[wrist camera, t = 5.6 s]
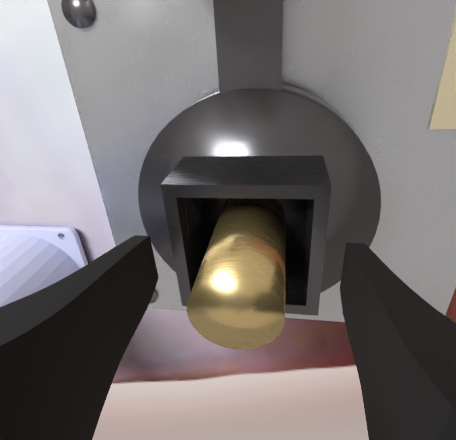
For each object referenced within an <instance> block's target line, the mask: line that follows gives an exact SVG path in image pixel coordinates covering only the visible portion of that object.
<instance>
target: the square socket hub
mask: <svg viewBox="0 0 456 440" xmlns="http://www.w3.org/2000/svg"><path fill="white" fill-rule="evenodd" d="M213 8H214V22H215V36H216V50H217V65H218V79H219V89H218V90H216V91H214V92H211V93H209V94H207V95H205V96H204V97H202V98H200V99H199V100H197V101H195V102H194V103H193V104H191V105H190V106H189V107H187V108H186V109H185V110H183V111H182V112H181V113H179V114H178V115H177V116H176V117H175V118H173V119H172V120H171V121H170V122H169V123H168V124H167V125H166V126H165V127H164V128H163V129H162V130H161V132H160V133H159V134H158V135H157V137H156V138H155V140H154V141H153V143H152V144H151V146H150V148H149V150H148V152H147V154H146V156H145V159H144V161H143V165H142V168H141V172H140V177H139V184H138V203H139V209H140V215H141V219H142V222H143V225H144V228H145V230H146V233H147V235H148V236H150V239H151V243H152V245H153V246H154V248H155V250H156V251H157V252H158V254H159V255H160V256H161V258H162V259H163V260H164V261H165V262H166V263H167V264H168V266H169V267H170V268H171V269H172V270H173V271H175V272H176V275H177V280H178V286H179V291H180V297H181V303H182V306H187V302H188V299H189V296H190V294H191V291H192V288H193V285H194V283H195V280H196V277H197V275H198V272H199V269H200V267H201V264H202V261H203V259H204V256H205V253H206V250H207V248H208V245H209V242H210V240H211V237H212V234H213V232H214V229H215V226H216V224H217V221H218V218H219V215H220V213H221V210H222V207H223V205H224V203H225V202H226V200H227V199H228V198H253V199H277V200H278V201H279V202H280V203H281V205H282V206H283V208H284V211H285V215H286V257H285V313H287V314H301V315H315V316H318V311H319V302H320V293H321V292H323V291H325V290H327V289H329V288H330V287H332V286H334V285H335V284H336V283H338V282H339V281H341V276H342V269H343V261H344V254H345V247H346V243H365V244H366V245H367V246H368V247H370V245H371V243H372V241H373V239H374V236H375V234H376V231H377V227H378V224H379V220H380V211H381V189H380V185H379V180H378V175H377V172H376V169H375V167H374V164H373V161H372V159H371V157H370V155H369V154H368V152H367V150H366V148H365V147H364V145H363V143H362V142H361V140H360V139H359V137H358V136H357V134H356V133H355V132H354V130H353V129H352V127H351V126H350V125H349V124H348V122H347V121H346V120H345V119H344V117H342V116H341V115H340V114H339V113H338V112H337V111H336V110H335V109H334V108H333V107H332V106H330V105H329V104H327V103H326V102H324V101H323V100H321V99H320V98H318V97H316V96H314V95H312V94H310V93H308V92H306V91H304V90H301V89H298V88H295V87H292V86H289V85H284V84H282V59H283V8H284V0H213Z"/></svg>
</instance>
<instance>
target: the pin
mask: <svg viewBox="0 0 456 440" xmlns="http://www.w3.org/2000/svg"><path fill="white" fill-rule="evenodd" d="M285 257H286V215H285V211H284V208H283V206H282V205H281V203H280V202H279V201H278V200H277V199H253V198H228V199H227V200H226V202H225V203H224V205H223V207H222V210H221V213H220V215H219V218H218V221H217V224H216V226H215V229H214V232H213V234H212V237H211V240H210V242H209V245H208V248H207V250H206V253H205V256H204V259H203V261H202V264H201V267H200V269H199V272H198V275H197V277H196V280H195V283H194V285H193V288H192V291H191V294H190V296H189V299H188V302H187V314H188V317H189V320H190V322H191V324H192V325H193V327H194V328H195V329H196V330H197V331H198V332H199V333H200V334H201V335H202V336H203V337H205V338H206V339H208V340H209V341H211V342H213V343H215V344H218V345H220V346H223V347H227V348H232V349H242V350H244V349H255V348H259V347H262V346H265V345H267V344H269V343H271V342H272V341H274V340H275V339H276V338H277V337H278V336H279V335H280V333H281V332H282V330H283V327H284V324H285Z"/></svg>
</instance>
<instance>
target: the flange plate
mask: <svg viewBox="0 0 456 440" xmlns="http://www.w3.org/2000/svg"><path fill="white" fill-rule="evenodd" d="M47 1H48V5H49V8H50V12H51V15H52V19H53V23H54V26H55V30H56V33H57V37H58V40H59V44H60V48H61V51H62V55H63V58H64V62H65V66H66V69H67V73H68V76H69V80H70V83H71V87H72V91H73V94H74V98H75V101H76V105H77V108H78V112H79V116H80V119H81V123H82V126H83V130H84V133H85V137H86V141H87V144H88V148H89V151H90V155H91V159H92V162H93V166H94V169H95V173H96V176H97V180H98V184H99V187H100V191H101V194H102V198H103V201H104V205H105V209H106V212H107V216H108V219H109V223H110V227H111V230H112V234H113V237H114V241H115V244H116V246H117V245H119V244H121V243H122V242H124V241H126V240H127V239H129V238H131V237H133V236H135V235H140V236H148V235H147V233H146V230H145V228H144V225H143V222H142V219H141V215H140V209H139V203H138V184H139V177H140V172H141V168H142V165H143V161H144V159H145V156H146V154H147V152H148V150H149V148H150V146H151V144H152V143H153V141H154V140H155V138H156V137H157V135H158V134H159V133H160V132H161V130H162V129H163V128H164V127H165V126H166V125H167V124H168V123H169V122H170V121H171V120H172V119H173V118H175V117H176V116H177V115H178V114H179V113H181V112H182V111H183V110H185V109H186V108H187V107H189V106H190V105H191V104H193V103H194V102H195V101H197V100H199V99H200V98H202V97H204V96H205V95H207V94H209V93H211V92H214V91H216V90H218V89H219V79H218V65H217V50H216V36H215V22H214V8H213V0H47ZM282 84H284V85H289V86H292V87H295V88H298V89H301V90H304V91H306V92H308V93H310V94H312V95H314V96H316V97H318V98H320V99H321V100H323V101H324V102H326V103H327V104H329V105H330V106H332V107H333V108H334V109H335V110H336V111H337V112H338V113H339V114H340V115H341V116H342V117H344V119H345V120H346V121H347V122H348V124H349V125H350V126H351V127H352V129H353V130H354V132H355V133H356V134H357V136H358V137H359V139H360V140H361V142H362V143H363V145H364V147H365V148H366V150H367V152H368V154H369V155H370V157H371V159H372V161H373V164H374V167H375V169H376V172H377V175H378V180H379V185H380V189H381V211H380V220H379V224H378V227H377V231H376V234H375V236H374V239H373V241H372V243H371V245H370V247H369V248H370V249H371V250H372V251H373V252H374V253H375V254H376V255H377V256H378V257H379V258H380V260H381V261H382V262H383V263H384V264H385V265H386V266H387V267H388V268H389V269H390V270H391V271H392V272H393V273H395V274H396V275H397V276H398V277H399V278H400V279H401V280H402V281H403V282H404V283H405V284H406V285H407V286H409V287H410V288H411V289H412V290H413V291H414V292H416V293H417V294H418V295H419V296H420V297H421V298H423V299H424V300H425V301H426V302H427V303H429V304H430V305H431V306H433V307H434V308H435V309H436V310H438V311H439V312H441V313H442V314H443V315H446V312H447V309H448V307H449V304H450V301H451V299H452V296H453V293H454V291H455V288H456V0H284V8H283V59H282ZM151 244H152V243H151ZM152 249H153V253H154V258H155V263H156V267H157V272H158V277H159V278H158V281H157V284H156V287H155V291H154V293H153V296H152V299H151V301H150V303H149V305H148V307H147V308H161V309H174V310H187V306H182V303H181V297H180V291H179V286H178V280H177V275H176V272H175V271H173V270H172V269H171V268H170V267H169V266H168V264H167V263H166V262H165V261H164V260H163V259H162V258H161V256H160V255H159V254H158V252H157V251H156V250H155V248H154V246H153V245H152ZM340 283H341V281H339V282H338V283H336V284H335V285H334V286H332V287H330V288H329V289H327V290H325V291H323V292H321V293H320V302H319V311H318V316H315V315H301V314H287V313H285V318H296V319H309V320H323V321H336V322H345V320H344V316H343V311H342V303H341V295H340Z"/></svg>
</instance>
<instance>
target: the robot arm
mask: <svg viewBox="0 0 456 440" xmlns="http://www.w3.org/2000/svg"><path fill="white" fill-rule="evenodd" d="M62 234H64V236H63V235H62ZM158 278H159V277H158V272H157V267H156V263H155V258H154V253H153V249H152V244H151V239H150V236H140V235H135V236H133V237H131V238H129V239H127V240H126V241H124V242H122V243H121V244H119V245H117V246H116V247H114V248H113V249H111V250H110V251H108V252H107V253H105V254H103V255H102V256H100V257H99V258H97V259H95V260H94V261H92V262H91V263H89V264H88V262H87V259H86V256H85V253H84V250H83V247H82V244H81V241H80V238H79V235H78V233H77V231H76V230H75V229H73V228H69V227H39V226H8V225H0V440H92V438H93V435H94V432H95V429H96V426H97V423H98V420H99V417H100V413H101V411H102V408H103V405H104V403H105V400H106V397H107V394H108V391H109V389H110V386H111V384H112V381H113V378H114V376H115V373H116V371H117V368H118V366H119V363H120V361H121V359H122V356H123V354H124V352H125V350H126V348H127V346H128V344H129V342H130V340H131V338H132V336H133V335H134V333H135V331H136V329H137V327H138V325H139V323H140V321H141V319H142V317H143V315H144V313H145V311H146V309H147V307H148V305H149V303H150V301H151V299H152V296H153V293H154V291H155V287H156V284H157V281H158ZM340 295H341V303H342V311H343V316H344V320H345V324H346V328H347V332H348V336H349V340H350V344H351V347H352V351H353V355H354V359H355V363H356V366H357V370H358V374H359V379H360V383H361V389H362V395H363V402H364V408H365V414H366V421H367V429H368V436H369V440H456V323H454V322H453V321H452V320H450V319H449V318H447V317H446V316H445V315H443V314H442V313H441V312H439V311H438V310H436V309H435V308H434V307H433V306H431V305H430V304H429V303H427V302H426V301H425V300H424V299H423V298H421V297H420V296H419V295H418V294H417V293H416V292H414V291H413V290H412V289H411V288H410V287H409V286H407V285H406V284H405V283H404V282H403V281H402V280H401V279H400V278H399V277H398V276H397V275H396V274H395V273H393V272H392V271H391V270H390V269H389V268H388V267H387V266H386V265H385V264H384V263H383V262H382V261H381V260H380V258H379V257H378V256H377V255H376V254H375V253H374V252H373V251H372V250H371V249H370V248H369V247H368V246H367V245H366V244H365V243H346V247H345V254H344V261H343V269H342V276H341V283H340Z"/></svg>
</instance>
